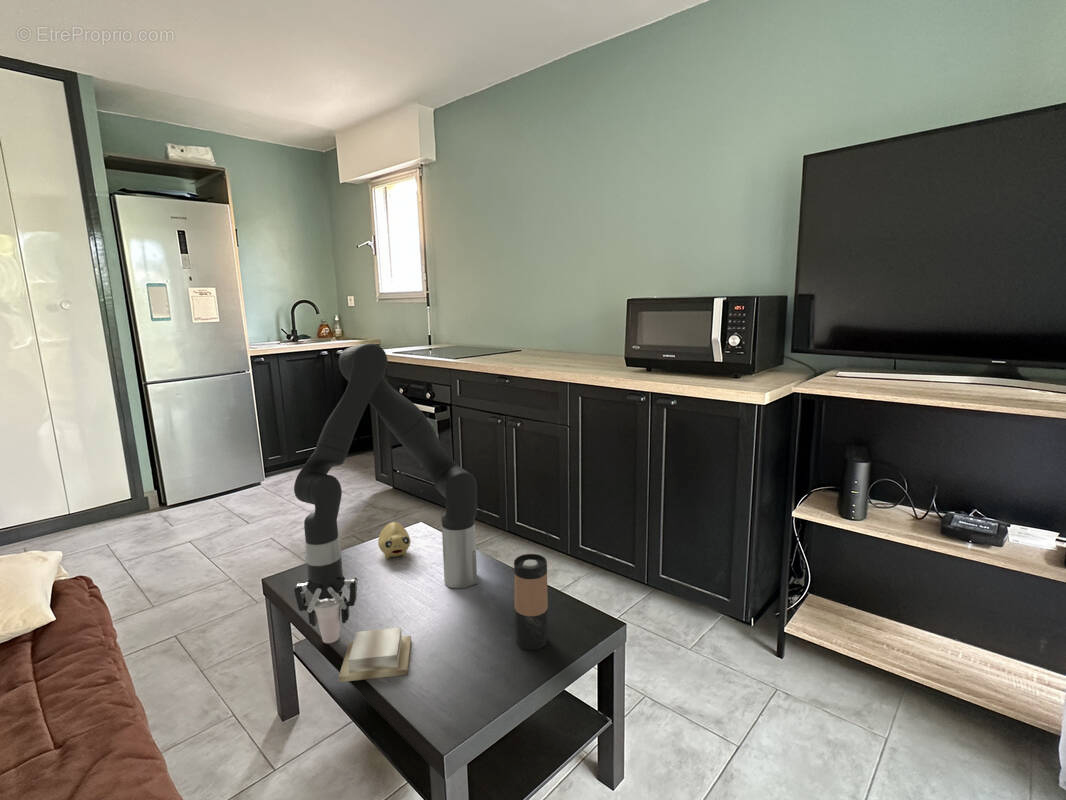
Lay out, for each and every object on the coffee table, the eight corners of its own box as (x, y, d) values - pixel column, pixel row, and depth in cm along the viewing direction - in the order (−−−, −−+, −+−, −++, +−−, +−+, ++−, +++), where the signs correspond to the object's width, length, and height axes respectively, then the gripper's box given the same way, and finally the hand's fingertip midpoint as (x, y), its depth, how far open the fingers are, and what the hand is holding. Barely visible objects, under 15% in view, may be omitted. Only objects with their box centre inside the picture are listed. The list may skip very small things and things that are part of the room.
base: (411, 640, 126) (410, 624, 125) (407, 674, 114) (406, 656, 113) (349, 646, 124) (348, 630, 123) (338, 682, 112) (337, 664, 111)
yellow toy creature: (382, 567, 161) (380, 534, 159) (377, 551, 172) (375, 520, 170) (415, 561, 165) (413, 529, 163) (408, 545, 176) (406, 515, 174)
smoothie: (350, 634, 128) (346, 580, 126) (330, 649, 123) (325, 593, 120) (331, 628, 131) (326, 575, 129) (310, 643, 125) (304, 587, 123)
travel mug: (552, 634, 127) (551, 556, 124) (542, 654, 120) (541, 571, 117) (522, 628, 130) (520, 551, 126) (510, 647, 123) (508, 566, 119)
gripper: (358, 547, 128) (363, 611, 131) (295, 552, 126) (302, 617, 129) (353, 561, 121) (358, 629, 124) (286, 567, 119) (293, 635, 122)
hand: (329, 622), depth 126 cm, fingers closed on smoothie, 6 cm apart
